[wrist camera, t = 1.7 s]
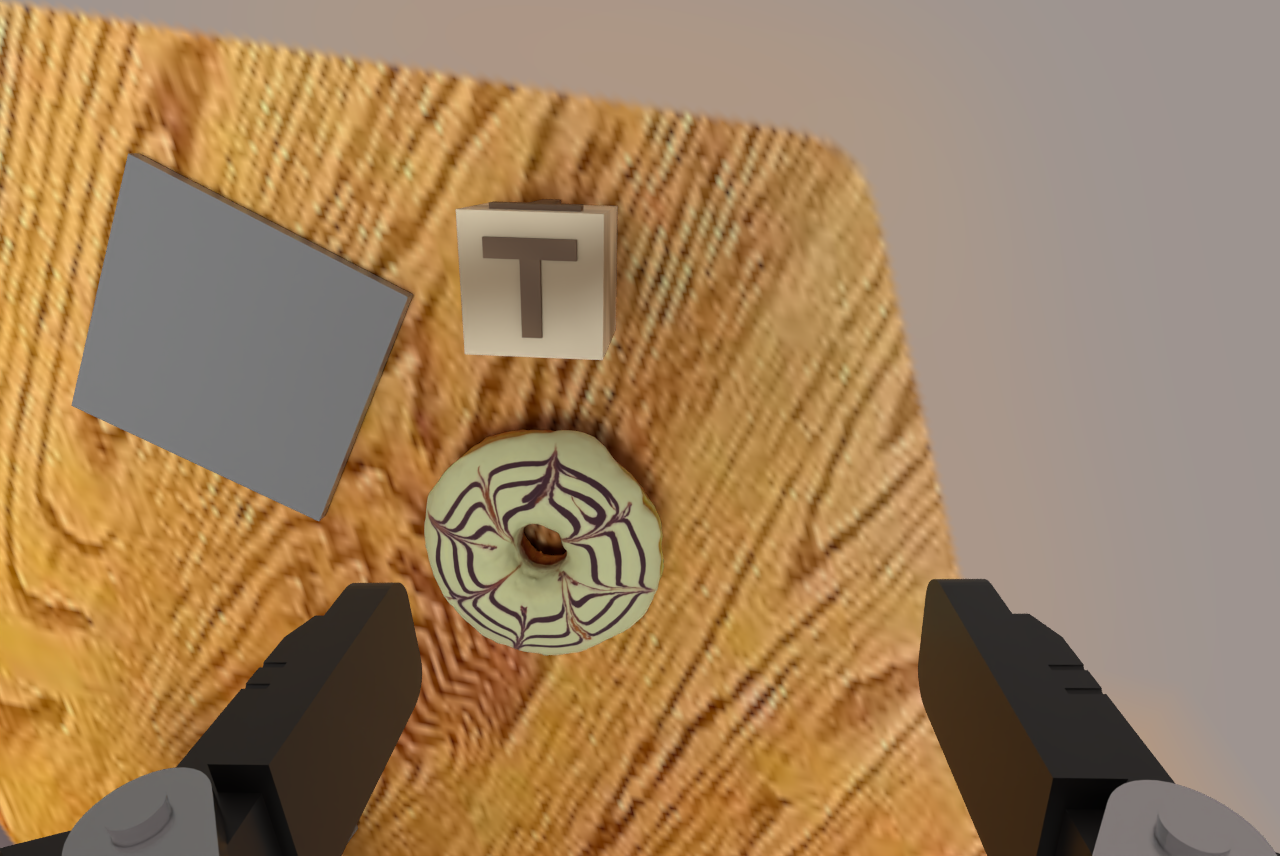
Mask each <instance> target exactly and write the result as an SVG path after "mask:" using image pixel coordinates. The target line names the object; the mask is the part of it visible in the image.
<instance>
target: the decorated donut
mask: <svg viewBox="0 0 1280 856" xmlns="http://www.w3.org/2000/svg"><path fill="white" fill-rule="evenodd" d="M529 524H539V525H542V526H544V527H546V528H548V529H551V530H553V531H556V532H558V533H559V534H560V538H561V541H562V544H563V547H564V548H565V549H566V550H567V552H565V553H564V555H547V554H543V553H542V551H540V552H539V551H537V550H536V549H535V548H534V547H533V546H532V545H531V543H530V541H528V539H526V537H525V535H524V527H525V526H527V525H529ZM424 535H425V542H426V549H427V552H428V557H429V562H430V565H431V568H432V571H433V574H434V577H435V579H436V581H437V583H438V585H439V587H440V589H441V591H442V593H443V595H444V596H445V598H446V599H447V601H448V602H449V603H450V604H451V605H452V606H453V607H454V608H455V610H456V611H457V612H458V613H459V614H460V615H461V616H462V617H463V618H464V620H466V621H467V622H468V623H469V624H471V625H472V626H473V627H474V628H475V629H476V630H477V631H478V632H479V633H480V634H482V635H483V636H485V637H487V638H489V639H491V640H493V641H495V642H497V643H499V644H504V645H507V646H510V647H512V648H514V649H517V650H521V651H524V652H532V653H540V654H542V655H560V654H568V653H576V652H581V651H583V650H586V649H588V648H590V647H593V646H595V645H597V644H600V643H601V642H603V641H605V640H607V639H609V638H611V637H613V636H615V635H617V634H620V633H622V632H624V631H625V630H627V629H628V628H630V627H631V626H633V625H634V624H635V623H636V622H637V621H638V620H639V619H640V618H642V616H643V615H644V614H645V613H646V612H647V610H648V608H649V605H650V604H651V602H652V600H653V597H654V594H655V593H656V591H657V589H658V584H659V581H660V578H661V576H662V572H663V568H664V559H663V553H662V538H663V534H662V527H661V520H660V517H659V515H658V513H657V510H656V509H655V506H654V505H653V503H652V502H651V501H650V499H649V497H648V496H647V494H646V492H645V490H644V489H643V488H642V487H641V485H640V484H639V483H638V482H637V481H636V479H635V478H634V477H633V475H632V474H631V473H629V472H628V471H627V470H626V469H625V468H624V467H622V466H621V465H620V464H619V463H618V462H616V461H615V460H614V458H613V457H612V456H611V455H610V453H609V452H608V450H607V449H606V447H605V446H604V445H602V444H601V443H600V442H599V441H598V440H597V439H596V438H595V437H593V436H591V435H589V434H586V433H583V432H579V431H572V430H559V431H552V430H517V431H509V432H503V433H501V434H496V435H493V436H489V437H486V438H485V439H484V440H483V441H482V442H481V443H479V444H477V445H475V446H473V447H472V448H471V449H470V450H468V451H467V452H466V453H465V454H464V455H463V456H462V457H461V458H460V459H458V460H457V461H456V462H455V463H453V464H452V465H451V466H450V467H449V468H448V469H447V470H446V472H445V473H444V474H443V475H442V477H441V478H440V480H439V481H438V483H437V484H436V485H435V486H434V488H433V489H432V490H431V491H430V493H429V495H428V500H427V507H426V519H425V527H424Z"/></svg>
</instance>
